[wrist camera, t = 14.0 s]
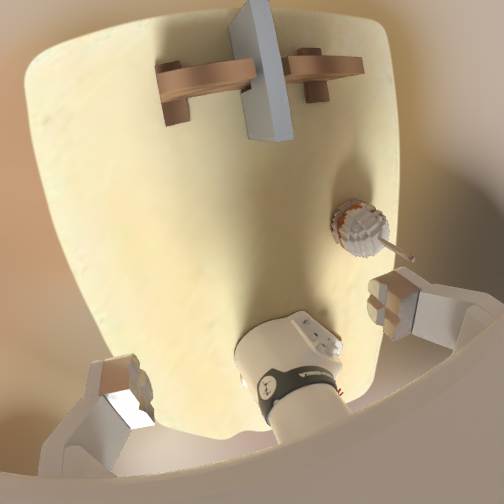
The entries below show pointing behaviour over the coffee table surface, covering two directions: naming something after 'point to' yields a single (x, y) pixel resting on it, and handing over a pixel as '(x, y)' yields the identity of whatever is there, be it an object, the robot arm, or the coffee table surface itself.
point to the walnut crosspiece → (248, 78)
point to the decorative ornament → (363, 230)
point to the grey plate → (262, 73)
